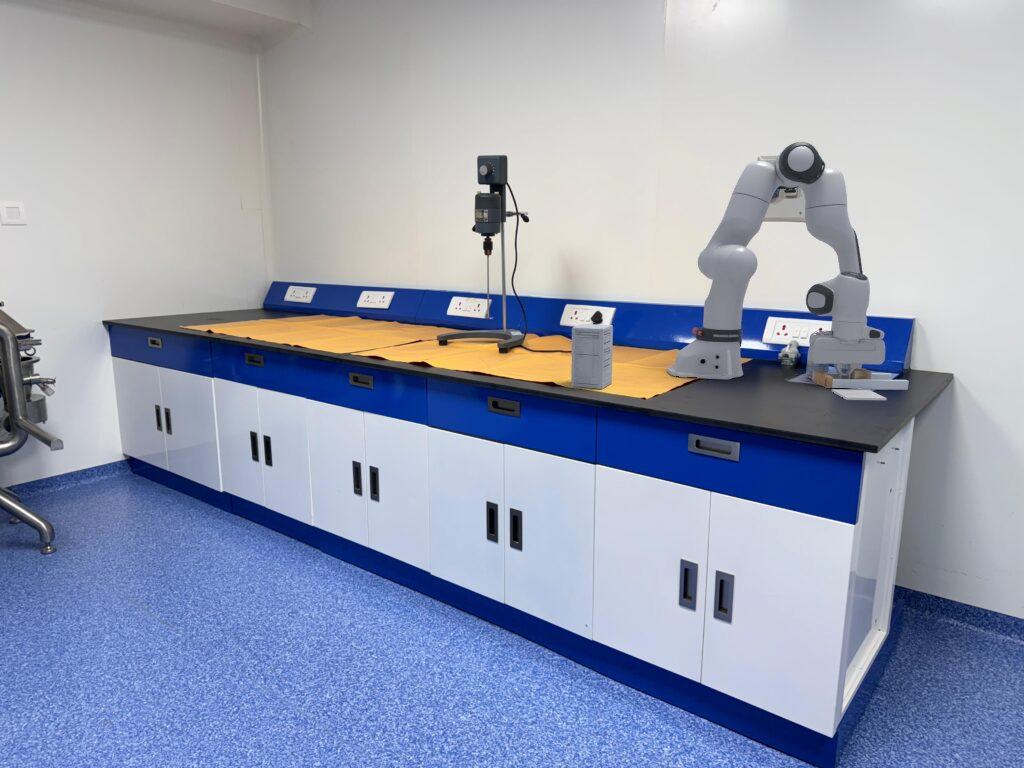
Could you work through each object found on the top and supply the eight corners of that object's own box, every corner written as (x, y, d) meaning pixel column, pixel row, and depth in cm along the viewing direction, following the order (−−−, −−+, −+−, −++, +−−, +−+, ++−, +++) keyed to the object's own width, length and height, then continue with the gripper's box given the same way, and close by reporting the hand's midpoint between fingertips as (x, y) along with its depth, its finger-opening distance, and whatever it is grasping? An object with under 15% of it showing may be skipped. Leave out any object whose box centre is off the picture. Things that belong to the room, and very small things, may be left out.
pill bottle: (826, 376, 211) (830, 339, 209) (828, 380, 205) (832, 342, 203) (805, 375, 213) (808, 338, 211) (806, 379, 207) (809, 341, 205)
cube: (853, 387, 197) (855, 371, 196) (847, 383, 201) (848, 368, 200) (869, 387, 197) (871, 371, 196) (863, 384, 201) (864, 368, 200)
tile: (846, 399, 181) (846, 397, 181) (831, 391, 191) (831, 389, 191) (886, 400, 181) (886, 398, 180) (868, 392, 190) (869, 389, 190)
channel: (826, 388, 194) (827, 377, 194) (811, 380, 205) (812, 369, 204) (907, 389, 193) (909, 378, 192) (888, 381, 204) (890, 371, 203)
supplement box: (612, 383, 200) (614, 324, 197) (602, 389, 192) (604, 328, 188) (580, 380, 204) (582, 323, 200) (569, 386, 196) (571, 326, 192)
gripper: (814, 332, 193) (809, 381, 196) (890, 332, 192) (884, 381, 195) (806, 329, 200) (802, 376, 202) (880, 329, 198) (874, 377, 201)
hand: (843, 379), depth 199 cm, fingers closed
